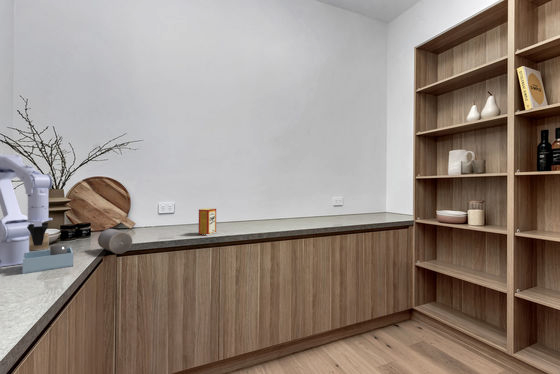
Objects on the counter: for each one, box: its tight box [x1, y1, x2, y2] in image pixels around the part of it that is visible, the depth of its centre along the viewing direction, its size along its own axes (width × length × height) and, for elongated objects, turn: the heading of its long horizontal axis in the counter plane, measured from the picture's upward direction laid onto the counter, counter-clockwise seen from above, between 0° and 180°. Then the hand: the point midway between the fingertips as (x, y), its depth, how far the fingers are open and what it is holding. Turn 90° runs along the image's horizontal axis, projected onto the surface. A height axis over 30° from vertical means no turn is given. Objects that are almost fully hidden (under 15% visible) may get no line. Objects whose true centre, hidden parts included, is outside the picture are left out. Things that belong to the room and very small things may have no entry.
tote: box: [22, 246, 74, 275], centre depth 101 cm, size 14×12×5 cm
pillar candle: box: [97, 228, 133, 255], centre depth 124 cm, size 10×10×15 cm
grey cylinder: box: [49, 243, 68, 256], centre depth 103 cm, size 5×5×7 cm
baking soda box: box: [198, 207, 217, 235], centre depth 169 cm, size 10×6×16 cm
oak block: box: [29, 232, 50, 252], centre depth 99 cm, size 5×5×5 cm
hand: (38, 243), depth 99 cm, fingers closed on oak block, 5 cm apart
